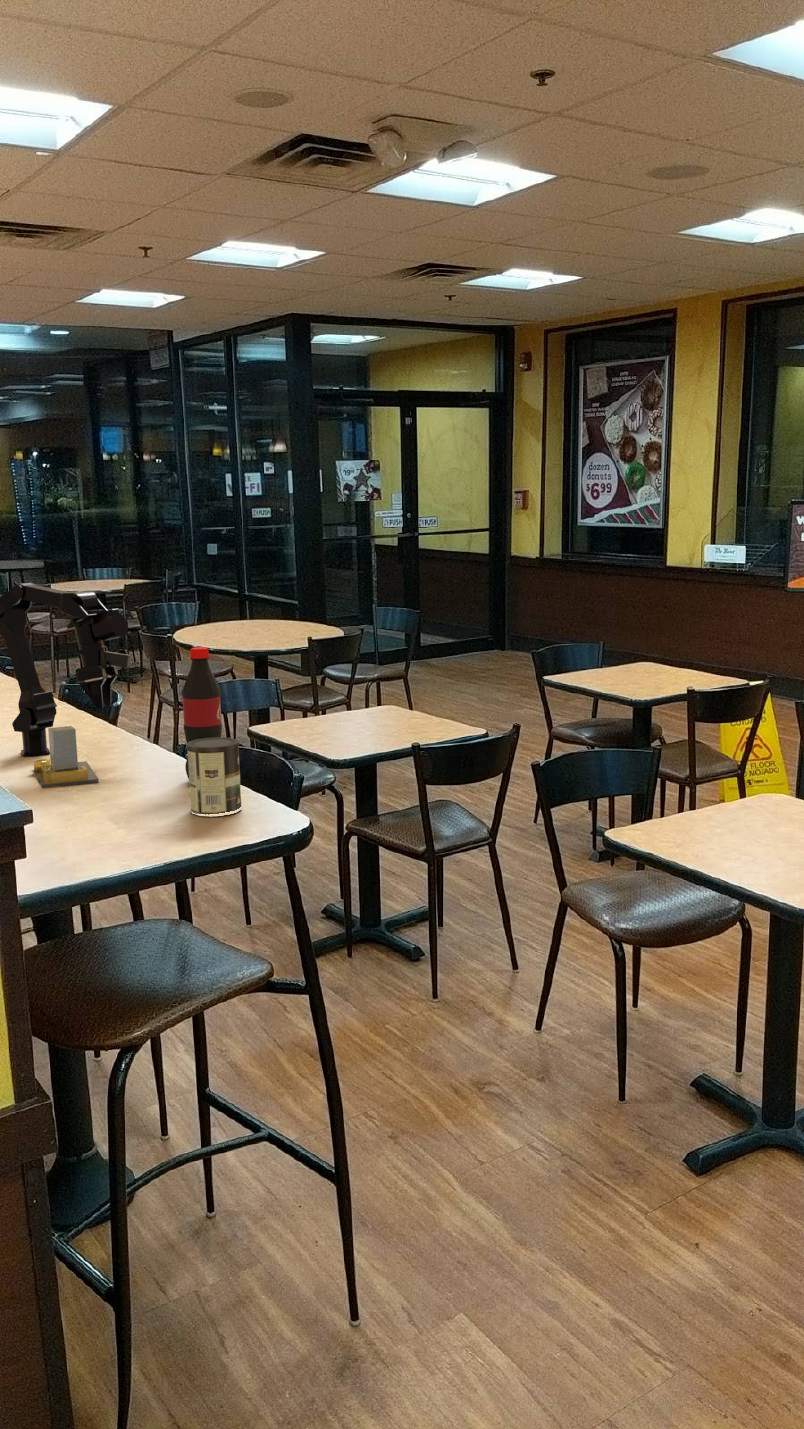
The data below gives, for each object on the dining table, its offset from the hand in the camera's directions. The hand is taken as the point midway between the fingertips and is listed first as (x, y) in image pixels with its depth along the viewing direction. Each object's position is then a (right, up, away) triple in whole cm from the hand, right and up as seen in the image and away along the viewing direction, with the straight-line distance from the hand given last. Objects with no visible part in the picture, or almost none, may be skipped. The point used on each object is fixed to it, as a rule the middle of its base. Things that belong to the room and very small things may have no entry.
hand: (104, 708), depth 260 cm
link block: (-5, -16, -15) cm, 22 cm away
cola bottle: (+27, -17, -17) cm, 36 cm away
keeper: (-6, -16, -11) cm, 20 cm away
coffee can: (+34, -21, -43) cm, 58 cm away
